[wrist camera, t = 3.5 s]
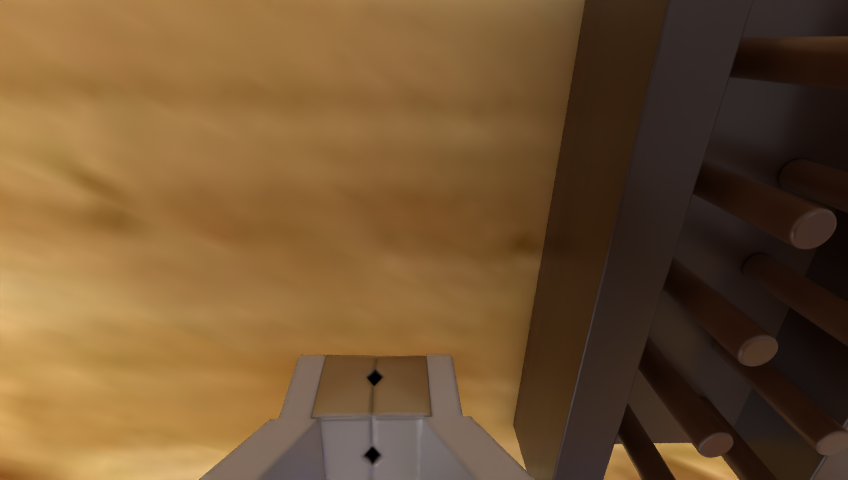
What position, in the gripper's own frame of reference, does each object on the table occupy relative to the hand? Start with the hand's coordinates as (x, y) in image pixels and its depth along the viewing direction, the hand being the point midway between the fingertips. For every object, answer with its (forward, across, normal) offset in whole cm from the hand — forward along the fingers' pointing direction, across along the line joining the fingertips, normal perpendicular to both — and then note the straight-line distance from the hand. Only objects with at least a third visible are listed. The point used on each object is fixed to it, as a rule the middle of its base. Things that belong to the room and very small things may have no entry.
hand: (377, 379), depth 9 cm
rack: (+6, -10, 0) cm, 12 cm away
